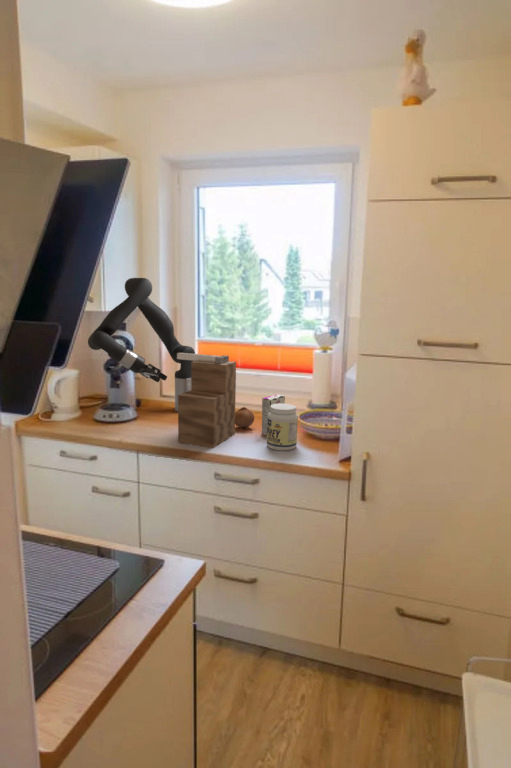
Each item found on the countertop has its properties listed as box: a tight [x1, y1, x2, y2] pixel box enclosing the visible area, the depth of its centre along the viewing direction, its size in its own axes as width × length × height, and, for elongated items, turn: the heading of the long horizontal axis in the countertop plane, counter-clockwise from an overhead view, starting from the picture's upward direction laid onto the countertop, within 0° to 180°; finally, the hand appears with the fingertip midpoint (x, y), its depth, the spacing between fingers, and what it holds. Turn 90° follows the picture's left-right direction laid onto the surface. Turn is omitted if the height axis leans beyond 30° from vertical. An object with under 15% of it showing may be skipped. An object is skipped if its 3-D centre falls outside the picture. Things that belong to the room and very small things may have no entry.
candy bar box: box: [261, 393, 286, 436], centre depth 224 cm, size 11×5×16 cm, turn 143°
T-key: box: [177, 353, 230, 364], centre depth 215 cm, size 8×22×2 cm, turn 68°
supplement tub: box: [266, 403, 299, 452], centre depth 205 cm, size 12×12×17 cm
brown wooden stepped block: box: [177, 360, 237, 449], centre depth 211 cm, size 21×16×32 cm
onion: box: [235, 406, 255, 429], centre depth 229 cm, size 10×9×10 cm
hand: (162, 379), depth 227 cm, fingers open, 8 cm apart
